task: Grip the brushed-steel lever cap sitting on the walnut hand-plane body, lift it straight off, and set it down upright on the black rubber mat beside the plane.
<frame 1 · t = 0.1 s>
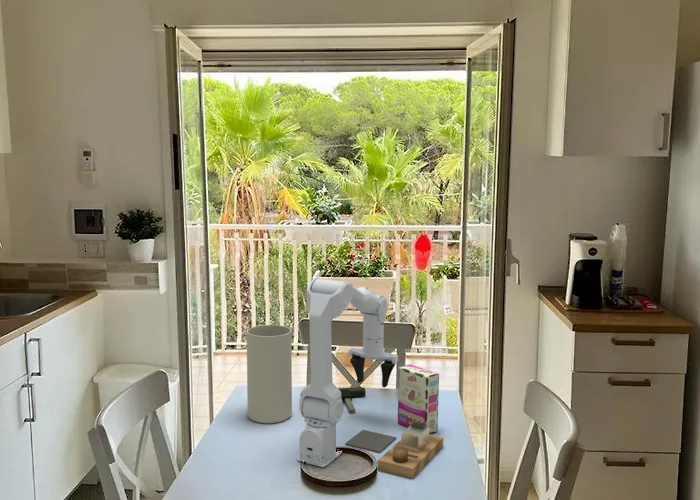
hand: (372, 384, 191), 10 cm above the table, tool pointing down, fingers open, 7 cm apart
door handle: (336, 406, 203), on the table
mat: (371, 441, 177), on the table
candy bar box: (417, 428, 186), on the table
cylinder vase: (269, 416, 194), on the table
plane body: (411, 457, 168), on the table
lever cap: (415, 445, 169), point 2 cm above the table, touching plane body
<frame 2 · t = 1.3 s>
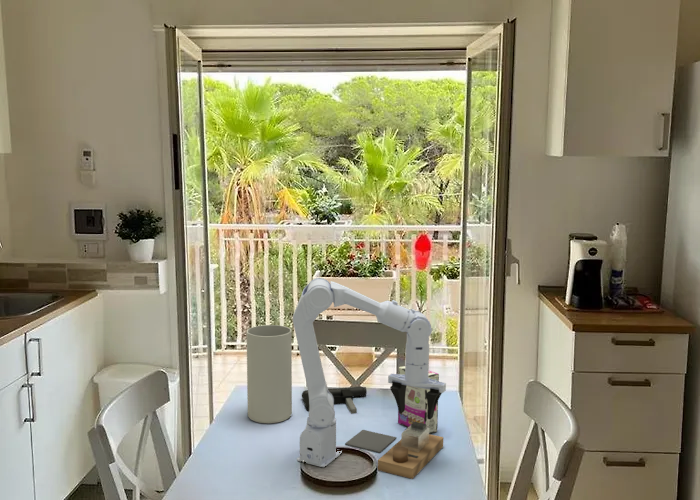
hand: (415, 415, 168), 10 cm above the table, tool pointing down, fingers open, 7 cm apart
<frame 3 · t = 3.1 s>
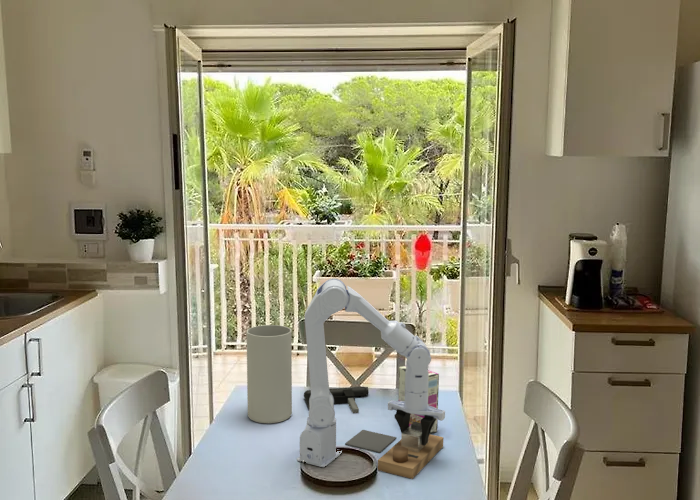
hand: (415, 441, 169), 3 cm above the table, tool pointing down, fingers closed on lever cap, 4 cm apart
lever cap: (415, 445, 169), point 2 cm above the table, touching gripper, plane body
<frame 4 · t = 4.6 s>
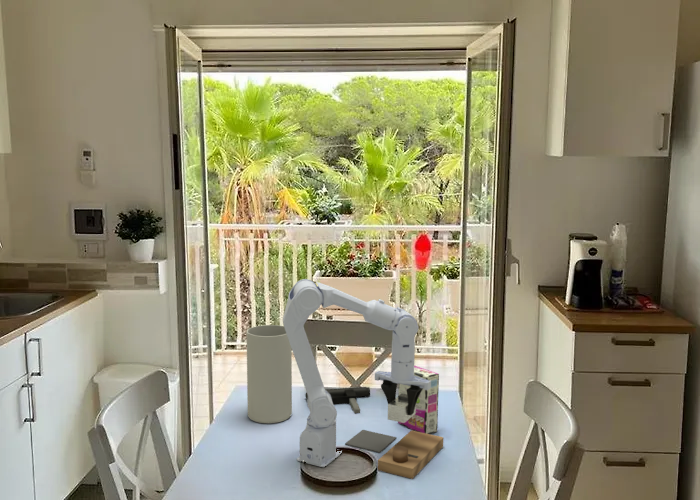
hand: (401, 411, 170), 10 cm above the table, tool pointing down, fingers closed on lever cap, 4 cm apart
lever cap: (401, 416, 171), point 9 cm above the table, touching gripper
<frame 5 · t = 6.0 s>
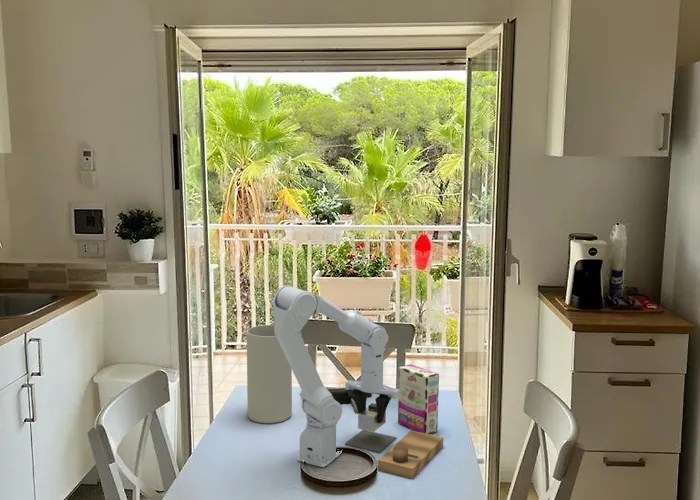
hand: (371, 419, 176), 6 cm above the table, tool pointing down, fingers closed on lever cap, 4 cm apart
lever cap: (372, 425, 177), point 4 cm above the table, touching gripper
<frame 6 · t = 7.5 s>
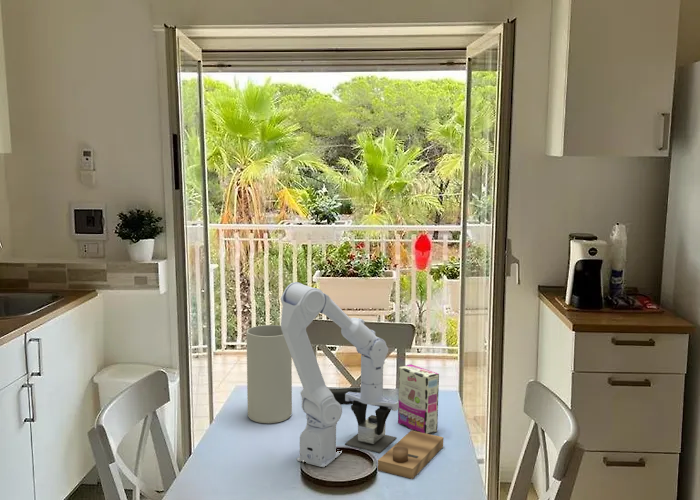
hand: (371, 431, 177), 3 cm above the table, tool pointing down, fingers closed on lever cap, 5 cm apart
lever cap: (371, 437, 177), point 1 cm above the table, touching gripper
when the fingers open (3 cm above the table, at t = 7.5 s): lever cap stays where it is, resting on mat.
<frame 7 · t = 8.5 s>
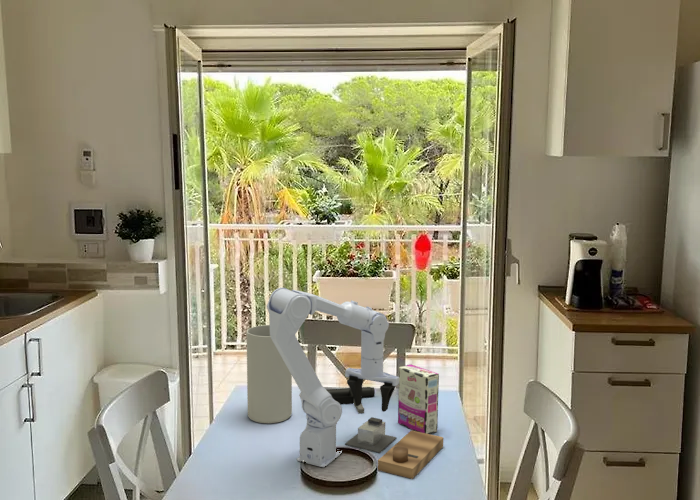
hand: (371, 407, 176), 9 cm above the table, tool pointing down, fingers open, 7 cm apart
lever cap: (371, 439, 177), resting on mat
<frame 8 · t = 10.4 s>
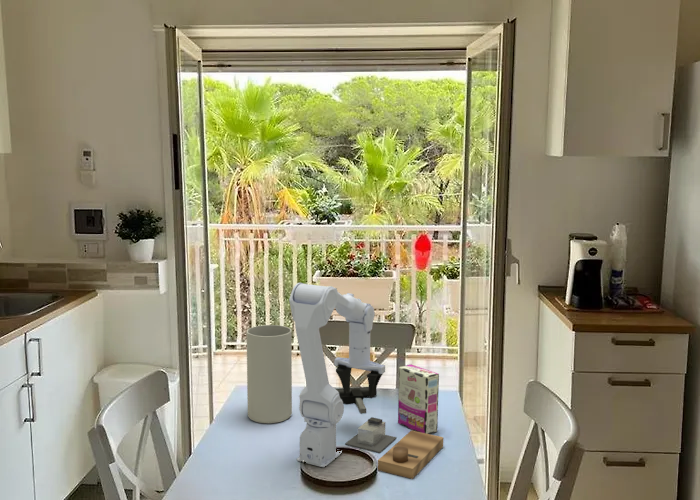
hand: (359, 394, 184), 9 cm above the table, tool pointing down, fingers open, 7 cm apart
at the end: lever cap inside the target area on the mat (0.4 cm from its centre), point 0.4 cm above the mat's base; lever cap tilted 0°; lever cap touching mat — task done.
